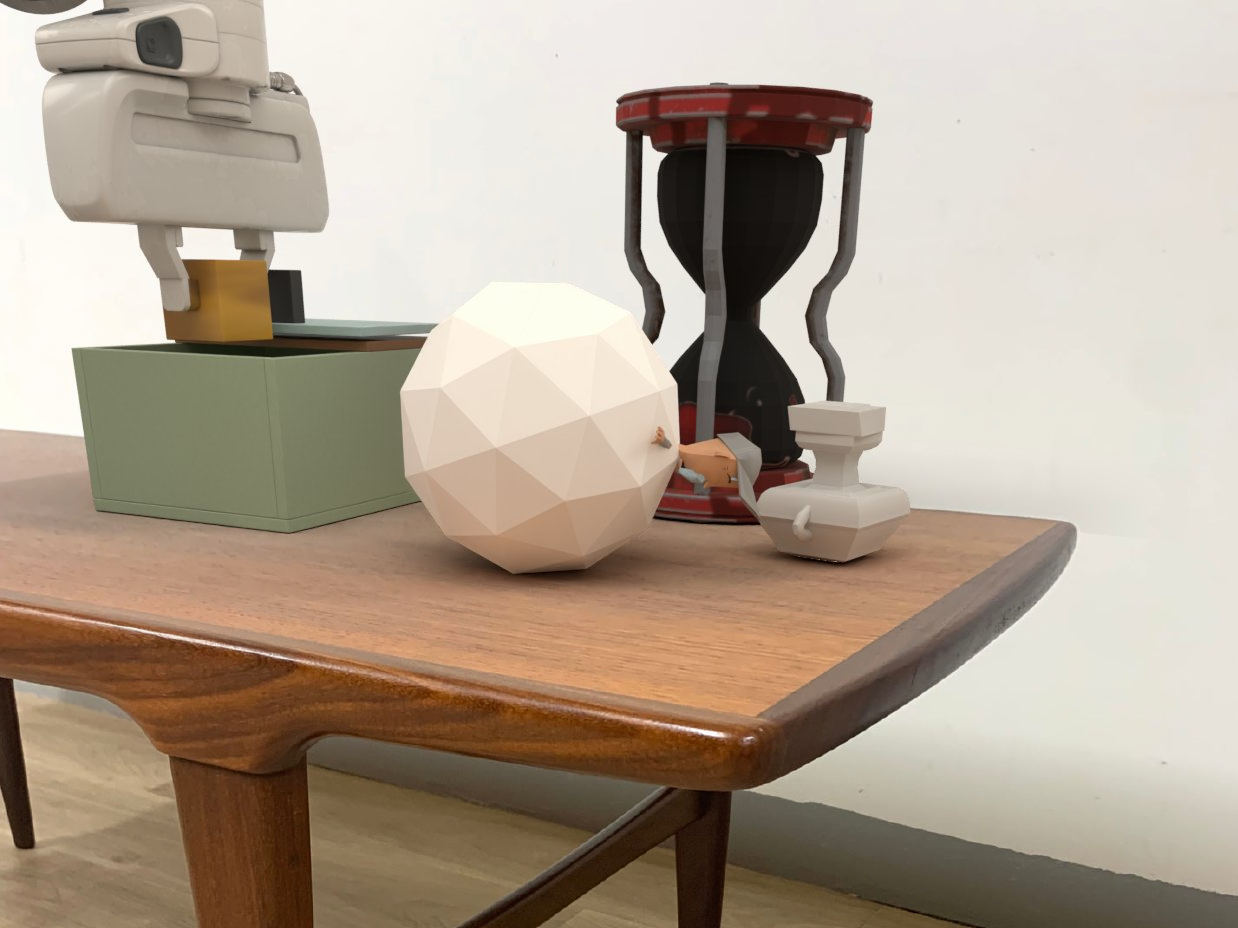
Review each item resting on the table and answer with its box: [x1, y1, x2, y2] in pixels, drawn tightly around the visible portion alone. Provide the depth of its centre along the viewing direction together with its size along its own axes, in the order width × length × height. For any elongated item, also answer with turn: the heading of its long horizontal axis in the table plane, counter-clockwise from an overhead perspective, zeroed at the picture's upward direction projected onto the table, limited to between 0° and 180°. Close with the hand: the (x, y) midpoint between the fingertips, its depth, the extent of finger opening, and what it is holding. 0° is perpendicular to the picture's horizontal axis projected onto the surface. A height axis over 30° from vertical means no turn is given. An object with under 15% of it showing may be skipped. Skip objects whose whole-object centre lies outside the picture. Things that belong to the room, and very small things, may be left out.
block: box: [161, 258, 273, 342], centre depth 80 cm, size 5×5×5 cm
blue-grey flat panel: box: [267, 268, 440, 337], centre depth 87 cm, size 16×9×4 cm, turn 65°
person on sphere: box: [400, 281, 762, 575], centre depth 68 cm, size 14×15×20 cm
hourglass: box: [615, 82, 874, 524], centre depth 86 cm, size 16×16×25 cm
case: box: [71, 333, 428, 534], centre depth 87 cm, size 16×18×11 cm
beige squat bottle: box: [757, 400, 911, 563], centre depth 73 cm, size 9×7×8 cm
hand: (216, 310), depth 80 cm, fingers closed on block, 4 cm apart
